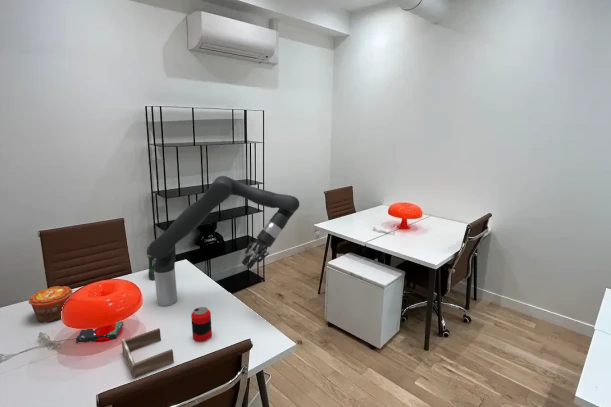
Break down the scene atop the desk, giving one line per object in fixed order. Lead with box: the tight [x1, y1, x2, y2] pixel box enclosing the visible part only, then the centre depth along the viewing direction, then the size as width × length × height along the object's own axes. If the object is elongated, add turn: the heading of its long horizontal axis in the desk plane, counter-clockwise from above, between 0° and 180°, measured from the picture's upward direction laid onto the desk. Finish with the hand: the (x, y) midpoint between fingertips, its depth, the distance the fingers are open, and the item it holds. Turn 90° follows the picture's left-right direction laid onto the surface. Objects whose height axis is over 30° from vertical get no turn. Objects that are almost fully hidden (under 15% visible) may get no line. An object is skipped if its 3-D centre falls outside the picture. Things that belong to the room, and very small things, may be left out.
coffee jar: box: [146, 245, 156, 281], centre depth 194 cm, size 10×8×19 cm
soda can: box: [190, 306, 213, 343], centre depth 143 cm, size 8×8×12 cm
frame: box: [121, 327, 175, 379], centre depth 131 cm, size 17×14×6 cm
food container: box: [28, 285, 73, 323], centre depth 157 cm, size 16×16×11 cm
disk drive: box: [75, 320, 124, 344], centre depth 145 cm, size 10×3×15 cm
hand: (245, 265), depth 150 cm, fingers open, 3 cm apart
